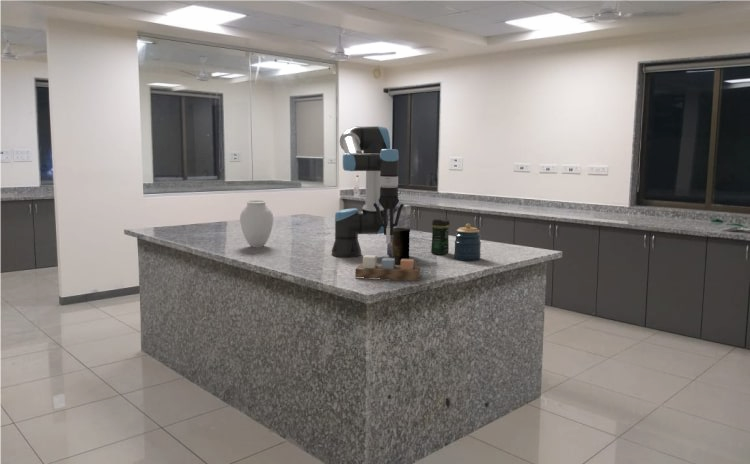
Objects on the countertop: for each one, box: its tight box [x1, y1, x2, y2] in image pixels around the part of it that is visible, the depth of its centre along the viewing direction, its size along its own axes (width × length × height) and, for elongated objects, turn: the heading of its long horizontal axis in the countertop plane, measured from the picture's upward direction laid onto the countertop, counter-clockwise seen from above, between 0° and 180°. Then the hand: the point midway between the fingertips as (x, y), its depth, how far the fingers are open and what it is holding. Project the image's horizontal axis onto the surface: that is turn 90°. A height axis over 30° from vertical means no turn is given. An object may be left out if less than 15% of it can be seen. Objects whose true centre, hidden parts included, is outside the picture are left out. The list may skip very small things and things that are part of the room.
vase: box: [239, 200, 274, 248], centre depth 314 cm, size 18×18×25 cm
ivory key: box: [362, 254, 377, 268], centre depth 244 cm, size 5×5×6 cm
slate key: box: [381, 257, 395, 269], centre depth 243 cm, size 5×5×6 cm
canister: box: [453, 223, 482, 262], centre depth 284 cm, size 13×13×18 cm
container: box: [391, 228, 411, 265], centre depth 260 cm, size 9×9×18 cm
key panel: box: [355, 263, 421, 282], centre depth 243 cm, size 26×11×4 cm, turn 81°
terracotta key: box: [400, 258, 415, 270], centre depth 241 cm, size 5×5×6 cm
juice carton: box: [386, 203, 412, 257], centre depth 290 cm, size 9×10×27 cm
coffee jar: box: [430, 217, 450, 255], centre depth 298 cm, size 10×8×19 cm
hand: (388, 242), depth 241 cm, fingers closed
